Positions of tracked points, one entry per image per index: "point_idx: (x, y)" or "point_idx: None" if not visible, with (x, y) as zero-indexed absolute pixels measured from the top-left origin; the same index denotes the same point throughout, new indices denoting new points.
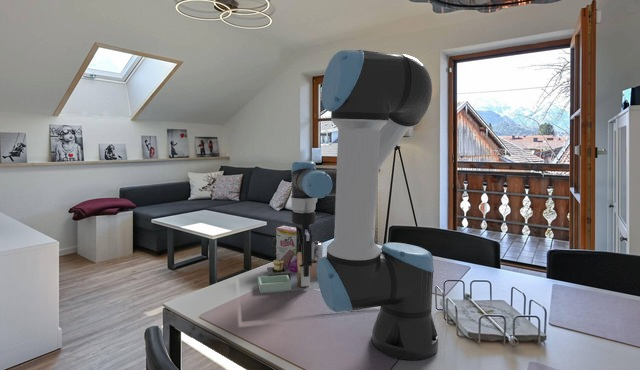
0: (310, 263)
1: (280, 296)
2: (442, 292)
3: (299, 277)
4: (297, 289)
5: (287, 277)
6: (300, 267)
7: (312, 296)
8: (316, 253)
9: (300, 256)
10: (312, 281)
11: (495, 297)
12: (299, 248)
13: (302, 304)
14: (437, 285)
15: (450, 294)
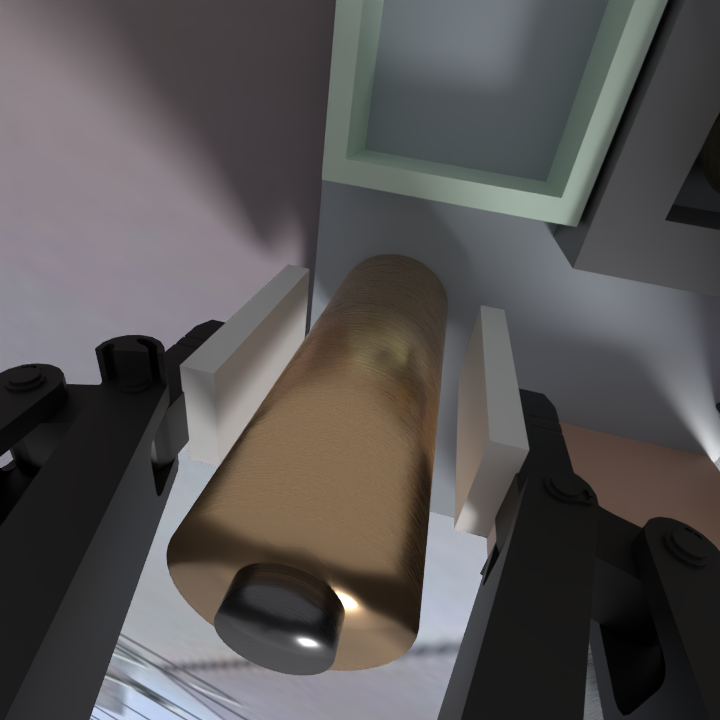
0: (13, 461)
1: (305, 21)
2: (185, 682)
3: (340, 296)
4: (332, 228)
5: (482, 187)
6: (294, 362)
7: (241, 298)
8: (589, 692)
9: (219, 479)
10: (451, 404)
11: (137, 717)
12: (468, 667)
13: (118, 174)
14: (242, 707)
15: (168, 683)
